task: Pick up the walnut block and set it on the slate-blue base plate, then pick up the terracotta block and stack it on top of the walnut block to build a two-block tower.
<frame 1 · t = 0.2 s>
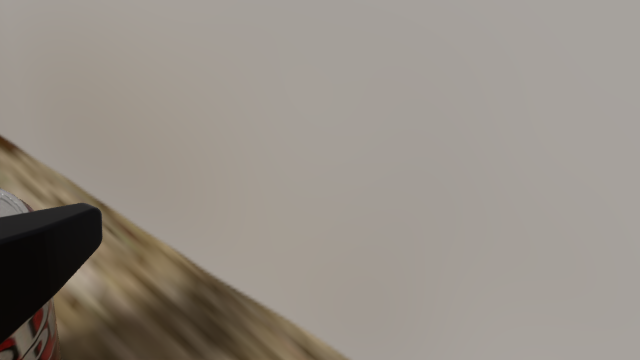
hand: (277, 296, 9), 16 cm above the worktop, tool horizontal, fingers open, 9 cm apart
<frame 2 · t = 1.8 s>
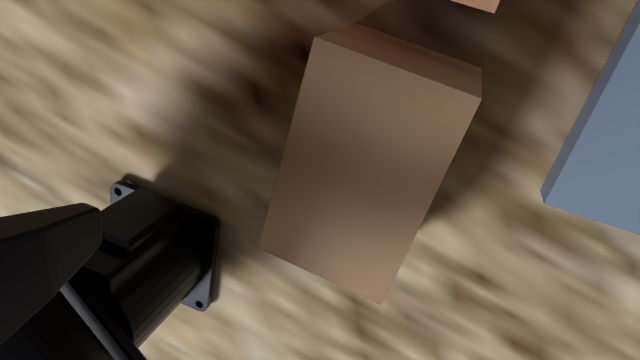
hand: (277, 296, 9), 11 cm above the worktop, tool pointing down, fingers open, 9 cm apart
walnut block: (381, 137, 18), on the worktop
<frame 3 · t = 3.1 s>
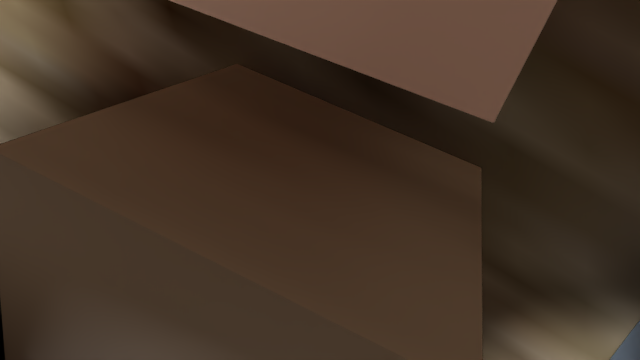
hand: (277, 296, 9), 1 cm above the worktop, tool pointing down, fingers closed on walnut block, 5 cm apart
walnut block: (295, 268, 10), on the worktop, touching gripper
when the fingers open (4 cm above the worktop, at t = 7.7 s): walnut block drops 1 cm, resting on base plate.
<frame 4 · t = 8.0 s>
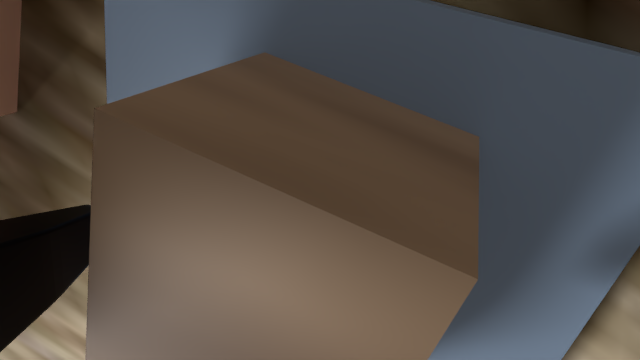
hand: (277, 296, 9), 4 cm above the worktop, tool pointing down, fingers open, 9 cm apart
base plate: (330, 215, 12), on the worktop
walnut block: (316, 235, 11), point 1 cm above the worktop, touching base plate
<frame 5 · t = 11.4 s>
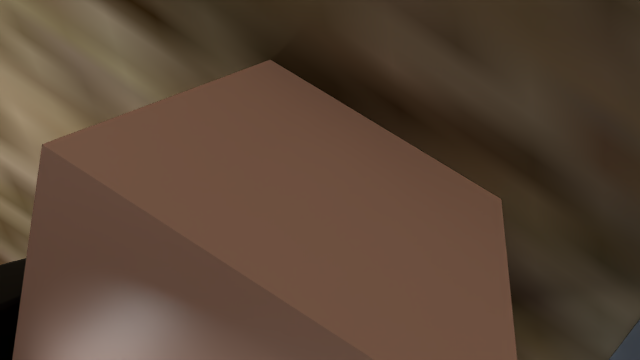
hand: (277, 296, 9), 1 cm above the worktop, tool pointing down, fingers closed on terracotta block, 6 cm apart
terracotta block: (296, 268, 10), on the worktop, touching gripper
when the fingers open (8 cm above the worktop, at t = 15.2 s): terracotta block drops 1 cm, resting on walnut block.
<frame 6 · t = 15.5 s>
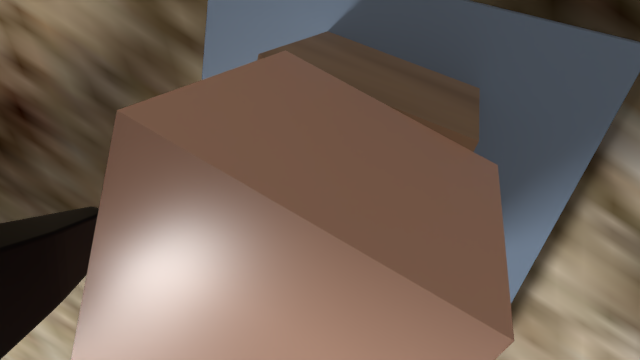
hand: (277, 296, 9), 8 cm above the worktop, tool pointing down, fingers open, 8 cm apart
base plate: (367, 157, 16), on the worktop
terracotta block: (315, 242, 11), point 6 cm above the worktop, touching walnut block
walnut block: (359, 168, 15), point 1 cm above the worktop, touching base plate, terracotta block
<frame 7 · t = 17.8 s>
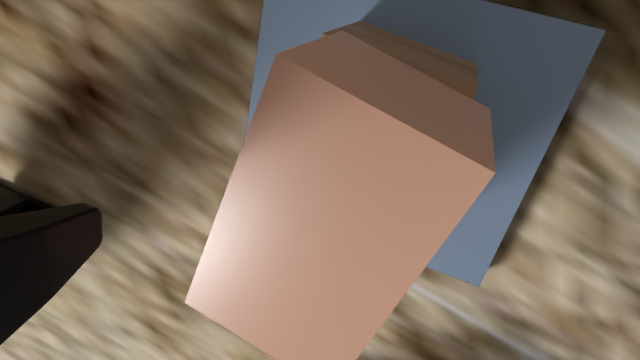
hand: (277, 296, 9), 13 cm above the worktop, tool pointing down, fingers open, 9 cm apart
base plate: (388, 123, 20), on the worktop
terracotta block: (357, 173, 15), point 6 cm above the worktop, touching walnut block
walnut block: (382, 130, 19), point 1 cm above the worktop, touching base plate, terracotta block
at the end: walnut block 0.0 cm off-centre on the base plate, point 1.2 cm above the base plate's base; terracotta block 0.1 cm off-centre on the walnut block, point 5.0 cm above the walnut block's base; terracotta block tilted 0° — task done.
